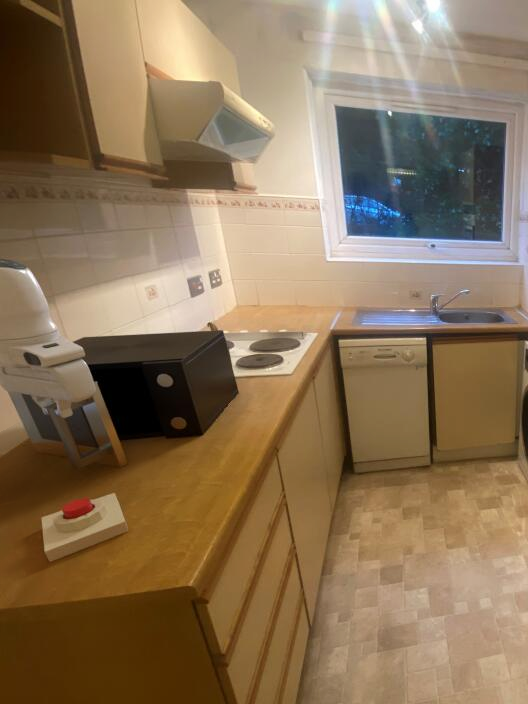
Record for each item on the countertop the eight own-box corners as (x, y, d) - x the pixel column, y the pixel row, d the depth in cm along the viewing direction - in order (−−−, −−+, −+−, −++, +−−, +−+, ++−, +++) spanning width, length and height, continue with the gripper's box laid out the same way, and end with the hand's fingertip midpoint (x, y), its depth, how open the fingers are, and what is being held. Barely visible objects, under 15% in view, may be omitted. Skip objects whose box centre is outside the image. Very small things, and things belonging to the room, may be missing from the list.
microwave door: (91, 482, 90) (53, 396, 82) (3, 465, 95) (-40, 383, 88) (128, 463, 97) (96, 381, 89) (44, 448, 102) (8, 370, 95)
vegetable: (236, 377, 145) (221, 319, 138) (237, 381, 142) (222, 321, 134) (220, 379, 143) (205, 320, 136) (221, 384, 140) (205, 323, 132)
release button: (64, 513, 76) (60, 504, 75) (92, 503, 78) (88, 495, 78) (66, 522, 73) (62, 514, 73) (94, 512, 76) (91, 504, 75)
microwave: (201, 437, 108) (179, 361, 100) (36, 453, 100) (-3, 373, 93) (239, 393, 133) (223, 330, 126) (109, 403, 126) (83, 337, 118)
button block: (46, 527, 78) (36, 509, 76) (118, 501, 84) (111, 484, 83) (49, 562, 70) (39, 543, 69) (129, 531, 77) (121, 513, 75)
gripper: (-31, 348, 80) (2, 415, 85) (49, 359, 75) (78, 429, 81) (13, 339, 86) (41, 402, 91) (90, 348, 81) (114, 414, 86)
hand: (59, 415), depth 86 cm, fingers closed
